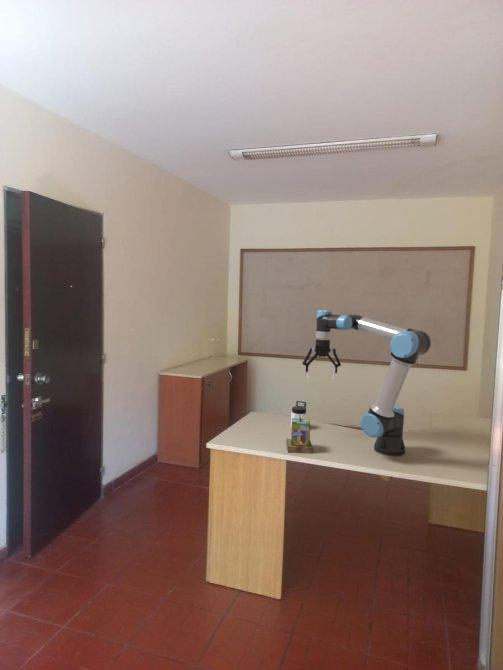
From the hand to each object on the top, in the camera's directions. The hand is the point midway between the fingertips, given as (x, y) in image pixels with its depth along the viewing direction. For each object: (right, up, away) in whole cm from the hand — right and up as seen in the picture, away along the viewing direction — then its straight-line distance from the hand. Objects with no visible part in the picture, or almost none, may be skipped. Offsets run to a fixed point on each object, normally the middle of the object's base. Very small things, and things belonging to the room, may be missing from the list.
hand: (320, 378), depth 245 cm
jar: (-10, -31, +20) cm, 38 cm away
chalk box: (-13, -31, -15) cm, 37 cm away
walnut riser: (-13, -34, -15) cm, 39 cm away
